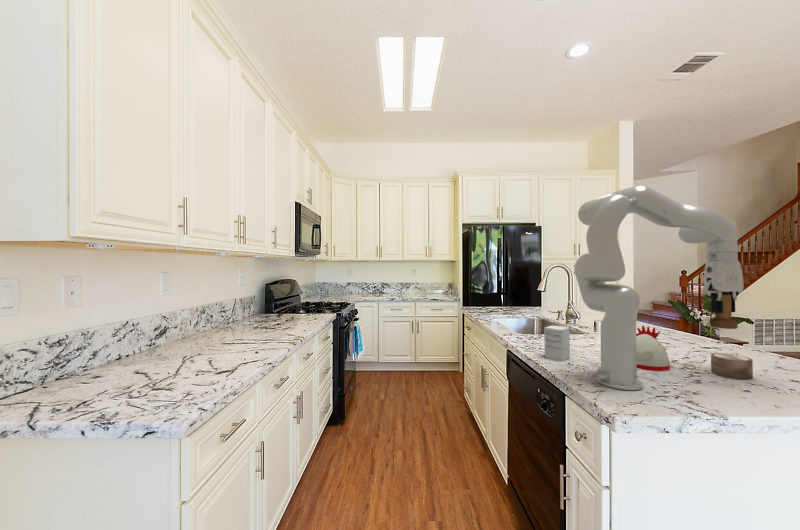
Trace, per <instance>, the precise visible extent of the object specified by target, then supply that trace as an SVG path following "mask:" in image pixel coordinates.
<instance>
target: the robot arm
mask: <svg viewBox="0 0 800 530" xmlns="http://www.w3.org/2000/svg"><path fill="white" fill-rule="evenodd" d="M629 214H636V215H638V216H640V217H642V218H643V219H646V220H647V221H649V222H651V223H652V224H655V225H657V226H661V227H667V228H679V230H678V233H677V234H678V238H679V239H680V240H681V241H682V242H683V243H685V244H689V245H690V244H692V245H695V244H705V251H706V253H705V254H706V255H705V258H706V262H705V266H704V272H703V273H704V274H703V285H704V288H703V289H702V293H703V294H705V295H706V296H707V297H708V298H709V301H710V305H711V306H710V307H711V312H712V313H715V312H717V313H723V301H720V300H721V295H722V292H726V294H731V311H732V313H735V312H736V301H737V299H738V298H737V297H738V296H739V295H740V294H741V293H742V292H743V291H744V287H745V286H744V284H745V283H744V277H743V269H742V266H741V263H740V261H739V258H738V253H739V252H738V225H737V222H736V221H734V220H732V219H730V218H729V217H728V216H726V215H724V214H722V213H720V212H719V211H716V210H715V209H712V208H707V207H704V206H697V205H694V204H688V203H681V202H677V201H675V200H674V199H671V198H670V197H668V196H666V195H664V194H663V193H661V192H659V191H657V190H655V189H654V188H653V189H652V188H650V187H649V186H646V185H640V184H639V185H634V186H631V187H627V188H624V189H620V190H617V191H614V192H611V193H609V194H606V195H603V196H601V197H598V198H594V199H592V200H588V201H586V202H584V203H582V204H581V206H580V207H579V209H578V213H577V217H578V219H579V221H580V222H581V223H582V224H584V225H586V226H588V229H587V232H586V235H585V236H586V237H585V239H586V247H587V251H588V252H587V253H584V254H581V255H580V256H579V257H578V258H577V260H576V262H575V265H574V273H575V277H576V281H577V286H578V287H579V288H578V289H579V292H580V295H581V296H580V297H581V298H582V300H583V303H584V304H585V306H586V307H587V308H589V310H594V311H596V312H600V313H601V312H602V313H605V314H604V316H603V318H602V320H601V322H600V367H599V366H598V367H597V369H596V370H595V371H593V370H591V371H587V372H586V375H587V377H588V378H593V379H594V378H595V381H596V382H597V383H598V384H600V385H602V386H605V387H608V388H612V389H615V390H621V391H639V390H642V389H643V388H644V383H643V382H642V381H641V380H640V379H638V372H637V371H638V368H637V354H636V333H637V319H638V313H639V309H640V306H641V299H640V295H639V293H638V292H637V291H636V290H635V289H634V288H632V287H630V286H629V285H624V284H615V283H614V282H617V281H620V280H621V279H623V278H624V277H625V274H626V266H625V262H624V257H623V255H622V250H621V248H620V244H619V240H618V232H619V228H620V226H621V224H622V222H623V221H624V219H625V218H626V216H627V215H629ZM607 282H609V283H607ZM612 282H613V283H614V284H613V283H612ZM716 294H717V295H716Z"/></svg>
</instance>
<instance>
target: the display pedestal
mask: <svg viewBox="0 0 800 530" xmlns="http://www.w3.org/2000/svg"><path fill="white" fill-rule="evenodd" d="M753 363H754V362H753V359H752V358H750V357H747V356H744V355H738V354H733V353H732V354H731V353H722V352H721V353H719V352H715V353H711V354H710V369H711V371H710V372H711V373H712V374H714V375H716V376H719V377H723V378H727V379H728V378H729V379H734V380H744V381H746V380H747V381H748V380H749V381H750V380H753V379H754V371H753V366H754V365H753Z"/></svg>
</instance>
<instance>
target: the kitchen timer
mask: <svg viewBox="0 0 800 530" xmlns="http://www.w3.org/2000/svg"><path fill="white" fill-rule="evenodd" d="M636 330H637V332H636V354H637V370H638V369H639V370H644V371H651V372H653V371H654V372H666V371H670V369H671V361H670V358H669V355H668V354H667V348H665V346H663V344H662V343H661V341H659V340H658V339H657V337H658V336H659V334H660V332H661V331H660V330H658V332H656V327H655V326H654V327H653V328H652V331H651V329H650V326H649V325H647V328H645V325H642V327H641V329H640V328H639V327H636Z"/></svg>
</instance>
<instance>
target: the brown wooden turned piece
mask: <svg viewBox="0 0 800 530" xmlns="http://www.w3.org/2000/svg"><path fill="white" fill-rule="evenodd" d="M715 294H716V295H717V293H715ZM720 301H723V313H717V312H714V315H715V316H714V317H712V318H710V322H709V323H710V327H713V328H716V329H727V330H733V329H734V330H736V329H738V321H737V320H736V319H734V318H732V313H733V312H732V311H731V294H730V293H729V294H726V292H722V295H721V300H720Z"/></svg>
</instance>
